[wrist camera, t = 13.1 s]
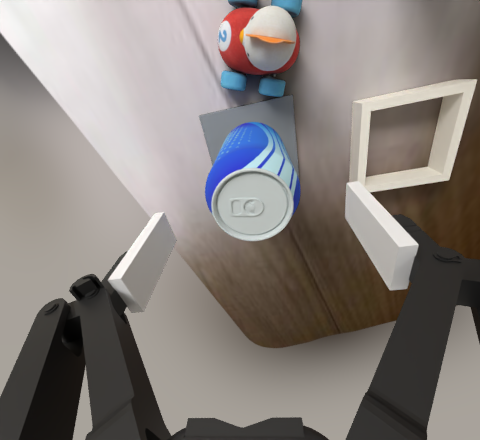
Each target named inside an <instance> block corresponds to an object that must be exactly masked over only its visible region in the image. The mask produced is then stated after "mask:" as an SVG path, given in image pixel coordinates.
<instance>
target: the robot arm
mask: <svg viewBox="0 0 480 440" xmlns="http://www.w3.org/2000/svg"><path fill="white" fill-rule="evenodd" d="M345 218H346V220H347V222H348V223H349V225H350V226H351V228H352V230H353V231H354V233H355V235H356V236H357V238H358V239H359V241H360V243H361V244H362V246H363V248H364V249H365V251H366V252H367V254H368V256H369V257H370V259H371V261H372V262H373V264H374V265H375V267H376V269H377V270H378V272H379V274H380V275H381V277H382V278H383V280H384V282H385V283H386V285H387V287H388V288H389V290H401V289H407V287H408V284H409V280H410V282H411V283H412V285H411V287H410V290H409V292H408V295H407V297H406V299H405V302H404V304H403V307H402V309H401V312H400V314H399V316H398V319H397V321H396V324H395V326H394V329H393V331H392V333H391V336H390V338H389V341H388V343H387V346H386V348H385V351H384V353H383V355H382V358H381V360H380V363H379V365H378V368H377V370H376V372H375V375H374V377H373V380H372V382H371V385H370V387H369V389H368V391H367V392H366V393H365V396H364V397H363V400H362V402H361V404H360V406H359V409H358V411H357V414H356V416H355V418H354V421H353V423H352V426H351V428H350V430H349V433H348V435H347V438H346V440H427V425H428V421H429V416H430V412H431V408H432V404H433V400H434V395H435V391H436V387H437V382H438V378H439V374H440V370H441V365H442V361H443V357H444V353H445V349H446V345H447V340H448V336H449V332H450V328H451V323H452V319H453V315H454V310H455V306H456V305H463V306H469V307H471V310H472V314H473V318H474V322H475V326H476V331H477V335H478V339H479V343H480V260H477V259H467V258H464V257H463V256H462V255H461V254H460V253H458V252H457V251H455V250H452V249H449V248H444V247H440V246H439V245H438V244H436V243H435V242H434V241H433V240H432V239H431V238H430V237H429V236H428V235H427V234H426V233H425V232H424V231H422V229H421V228H420V227H419V226H417V225H416V224H415V223H414V222H413V221H412V220H411V219H410V218H408V217H406V216H404V215H401V214H399V215H392V216H391V215H390V214H389V213H388V212H387V210H386V209H385V208H384V207H383V206H382V205H381V204H380V203H379V202H378V201H377V200H376V199H375V198H374V197H373V196H372V195H371V194H370V192H369V191H368V190H367V189H366V188H365V187H364V186H363V185H362V184H361V183H360V182H359V181H355V182H349V183H346V206H345ZM176 241H177V240H176V238H175V236H174V233H173V231H172V229H171V227H170V224H169V222H168V220H167V218H166V215H165V213H164V212H161V213H155V214H154V215H153V217H152V218H151V219H150V221H149V222H148V224H147V225H146V227H145V228H144V229H143V231H142V232H141V234H140V235H139V237H138V238H137V239H136V241H135V242H134V244H133V245H132V246H131V248H130V249H129V251H128V252H125V253H124V254H123V255H121V256H120V257H119V258H118V260H117V261H116V263H115V264H114V265H113V267H112V269H111V270H110V271H109V272H108V274H107V275H106V276H105V278H104V279H103V280H102V282H100V281H99V279H98V278H97V277H96V275H94V274H90V275H86V276H84V277H82V278H80V279H78V280H77V281H76V282H75V283H73V284H72V286H71V287H70V290H69V291H70V292H71V293H72V295H73V296H74V297H75V298H76V299H77V300H76V301H73V302H71V303H67V302H66V301H65V300H64V299H63V298H60V299H56V300H53V301H51V302H49V303H48V304H46V305H45V306H44V307H43V308H42V309H41V310H40V311H39V313H38V314H37V316H36V318H35V321H34V323H33V325H32V327H31V330H30V332H29V334H28V336H27V339H26V341H25V343H24V345H23V347H22V350H21V352H20V354H19V357H18V359H17V361H16V363H15V365H14V368H13V370H12V372H11V374H10V377H9V379H8V381H7V383H6V386H5V388H4V390H3V392H2V395H1V397H0V440H72V439H73V433H74V427H75V421H76V416H77V410H78V405H79V398H80V393H81V387H82V382H83V376H84V370H85V365H86V371H87V379H88V389H89V397H90V406H91V415H92V423H93V429H92V431H91V432H89V433H88V434H87V436H86V439H85V440H328V439H327V438H326V437H325V436H323V435H322V434H320V433H319V432H317V431H315V430H313V429H311V428H309V427H306V426H303V423H302V418H270V419H267V420H265V421H262V422H259V423H256V424H253V425H250V426H247V427H244V428H240V427H237V426H234V425H232V424H229V423H226V422H224V421H221V420H218V419H215V418H188V422H187V426H186V428H184V429H182V430H180V431H178V432H177V433H175V434H174V435H173V436H171V435H170V433H169V431H168V429H167V428H166V426H165V424H164V421H163V418H162V415H161V413H160V410H159V407H158V404H157V401H156V398H155V395H154V393H153V390H152V387H151V384H150V381H149V378H148V376H147V373H146V370H145V367H144V364H143V361H142V358H141V356H140V353H139V350H138V347H137V344H136V342H135V339H134V336H133V333H132V330H131V327H130V324H129V321H128V319H127V316H126V315H125V313H124V311H125V309H126V307H128V308H129V310H130V311H131V312H132V313H135V312H144V310H145V308H146V306H147V303H148V301H149V299H150V297H151V295H152V293H153V291H154V288H155V286H156V284H157V282H158V280H159V278H160V275H161V273H162V271H163V269H164V267H165V265H166V263H167V260H168V258H169V256H170V254H171V252H172V250H173V248H174V245H175V243H176Z"/></svg>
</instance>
